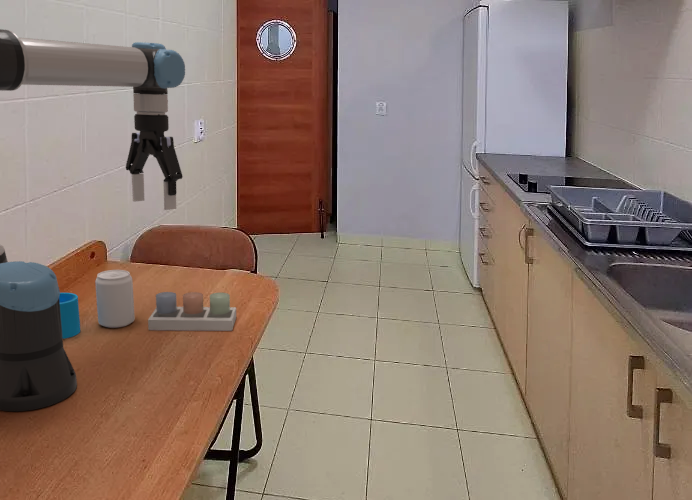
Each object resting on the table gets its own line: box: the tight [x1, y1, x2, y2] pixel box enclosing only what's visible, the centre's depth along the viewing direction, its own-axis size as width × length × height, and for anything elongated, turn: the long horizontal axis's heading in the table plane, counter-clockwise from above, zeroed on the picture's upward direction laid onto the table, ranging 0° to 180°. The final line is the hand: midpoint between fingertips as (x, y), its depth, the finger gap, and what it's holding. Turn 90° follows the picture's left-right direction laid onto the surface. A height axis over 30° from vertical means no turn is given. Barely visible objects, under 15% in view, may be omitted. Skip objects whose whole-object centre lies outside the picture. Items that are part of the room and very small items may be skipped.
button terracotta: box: [182, 291, 204, 314], centre depth 154 cm, size 5×5×4 cm
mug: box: [59, 292, 81, 340], centre depth 149 cm, size 12×8×8 cm
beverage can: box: [94, 269, 135, 329], centre depth 153 cm, size 8×8×12 cm
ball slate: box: [155, 291, 178, 314], centre depth 154 cm, size 5×5×4 cm
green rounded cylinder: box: [209, 292, 231, 314], centre depth 154 cm, size 5×5×4 cm
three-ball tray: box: [147, 306, 237, 332], centre depth 155 cm, size 9×19×2 cm, turn 93°
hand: (154, 205), depth 155 cm, fingers open, 13 cm apart
